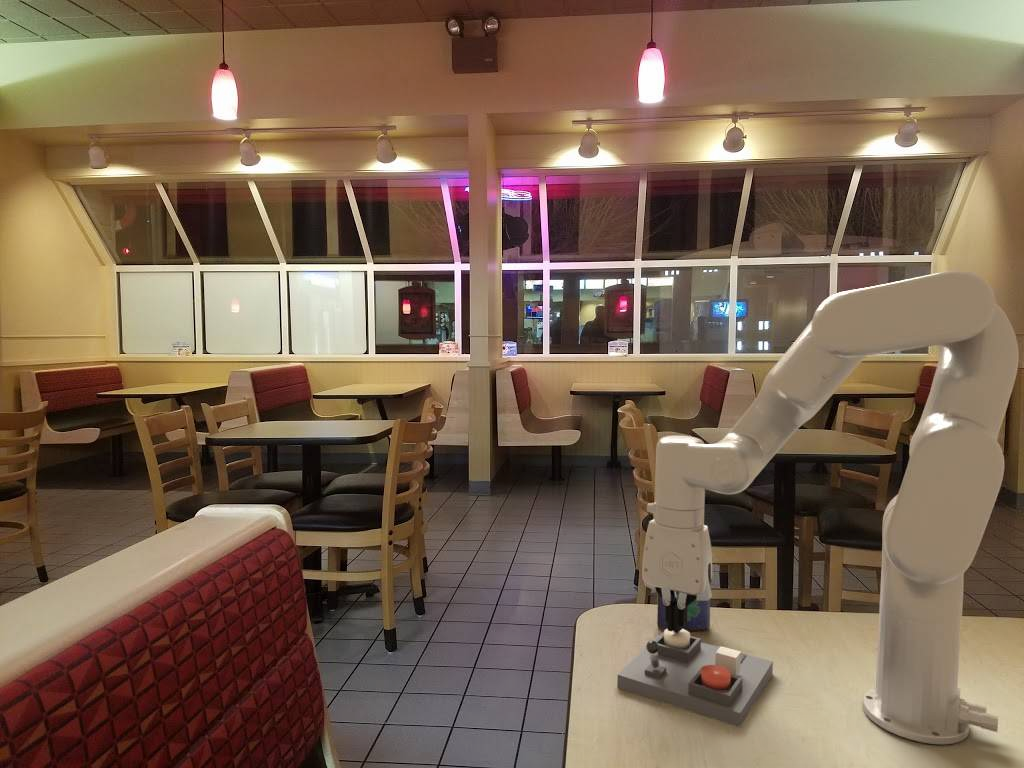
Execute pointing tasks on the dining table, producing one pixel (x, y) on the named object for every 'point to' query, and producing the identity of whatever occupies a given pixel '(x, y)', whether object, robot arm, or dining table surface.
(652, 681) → the panel
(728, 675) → the red button
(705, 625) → the flask
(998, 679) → the dining table surface
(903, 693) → the robot arm
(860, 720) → the dining table surface
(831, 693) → the dining table surface
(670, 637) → the ivory button
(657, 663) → the toggle lever
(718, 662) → the beige cube
